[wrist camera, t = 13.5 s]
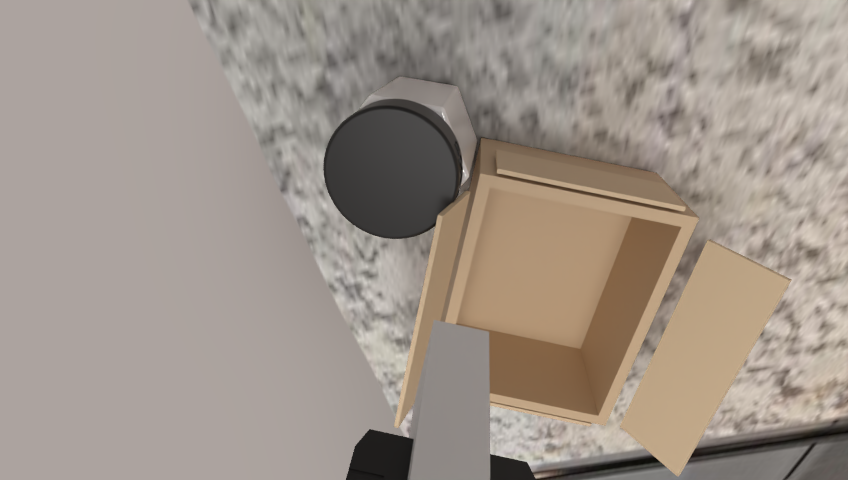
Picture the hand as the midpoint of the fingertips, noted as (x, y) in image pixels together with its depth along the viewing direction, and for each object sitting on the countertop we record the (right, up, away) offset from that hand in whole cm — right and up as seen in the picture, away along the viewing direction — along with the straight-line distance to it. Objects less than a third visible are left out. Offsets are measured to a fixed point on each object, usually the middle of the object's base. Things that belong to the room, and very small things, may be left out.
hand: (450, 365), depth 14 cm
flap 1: (0, -1, +20) cm, 20 cm away
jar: (-1, +12, +27) cm, 30 cm away
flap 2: (+17, -5, +20) cm, 27 cm away
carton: (+9, +2, +31) cm, 32 cm away
